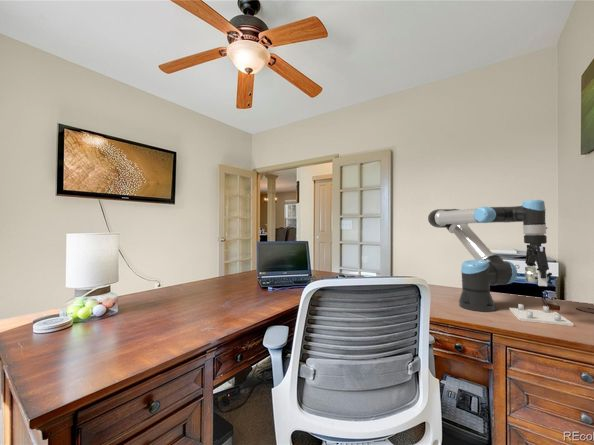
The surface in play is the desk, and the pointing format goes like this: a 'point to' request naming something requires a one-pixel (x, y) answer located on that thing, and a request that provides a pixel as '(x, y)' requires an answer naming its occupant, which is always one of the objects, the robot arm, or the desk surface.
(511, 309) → the mounting plate
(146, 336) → the desk surface
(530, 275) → the valve
